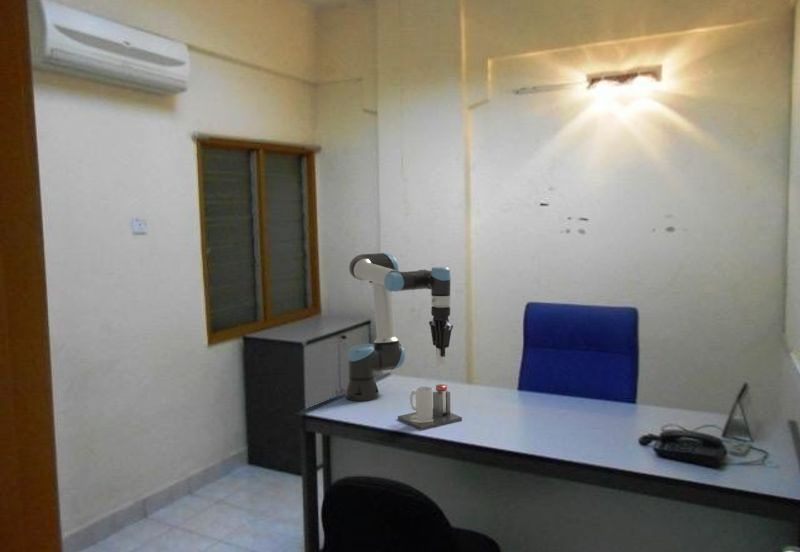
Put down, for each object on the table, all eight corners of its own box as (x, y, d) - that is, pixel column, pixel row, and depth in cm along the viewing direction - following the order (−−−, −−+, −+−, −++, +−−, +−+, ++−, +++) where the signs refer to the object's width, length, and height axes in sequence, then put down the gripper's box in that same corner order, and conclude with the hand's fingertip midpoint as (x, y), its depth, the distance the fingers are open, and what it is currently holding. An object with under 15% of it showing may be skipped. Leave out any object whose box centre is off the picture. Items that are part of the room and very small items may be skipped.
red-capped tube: (434, 411, 244) (433, 385, 243) (442, 409, 246) (442, 383, 245) (440, 414, 240) (440, 387, 239) (449, 411, 243) (449, 386, 242)
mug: (436, 417, 238) (436, 388, 237) (427, 422, 233) (426, 392, 232) (415, 413, 244) (414, 384, 243) (405, 418, 238) (405, 388, 237)
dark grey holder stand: (397, 419, 242) (397, 394, 241) (437, 410, 252) (437, 386, 252) (420, 430, 228) (420, 404, 227) (461, 420, 239) (461, 395, 238)
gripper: (423, 304, 243) (423, 362, 245) (443, 308, 232) (443, 368, 234) (438, 303, 247) (438, 359, 249) (458, 307, 236) (458, 366, 239)
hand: (440, 363), depth 242 cm, fingers closed
